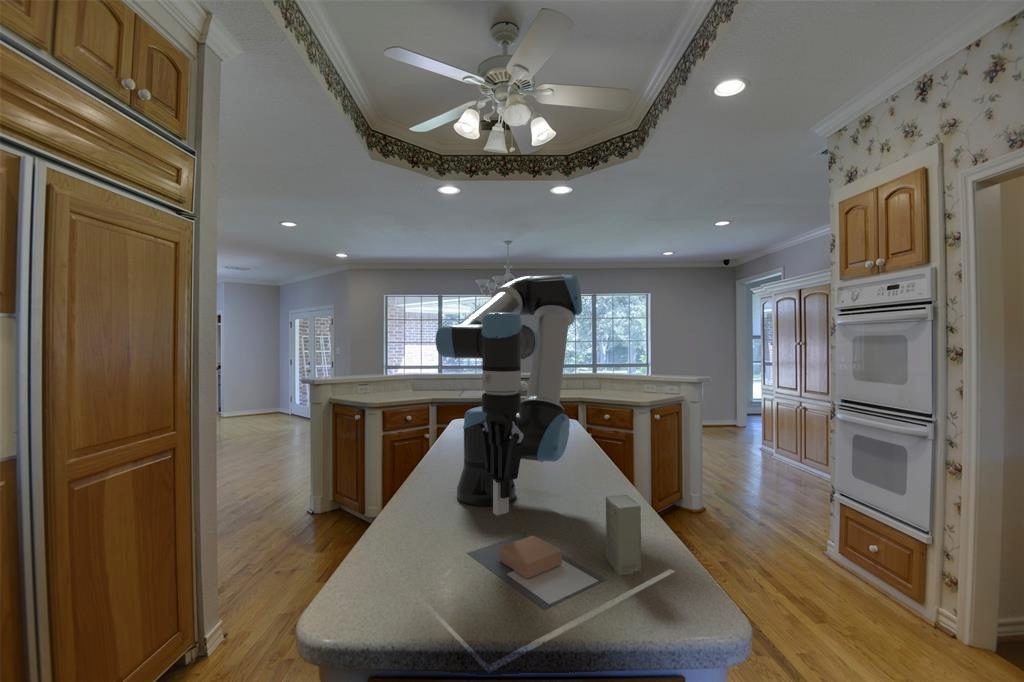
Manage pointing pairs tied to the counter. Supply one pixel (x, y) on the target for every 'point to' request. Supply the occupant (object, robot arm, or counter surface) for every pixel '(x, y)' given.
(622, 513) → the skincare box
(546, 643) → the counter surface
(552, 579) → the mat
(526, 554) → the tile
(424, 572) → the counter surface
